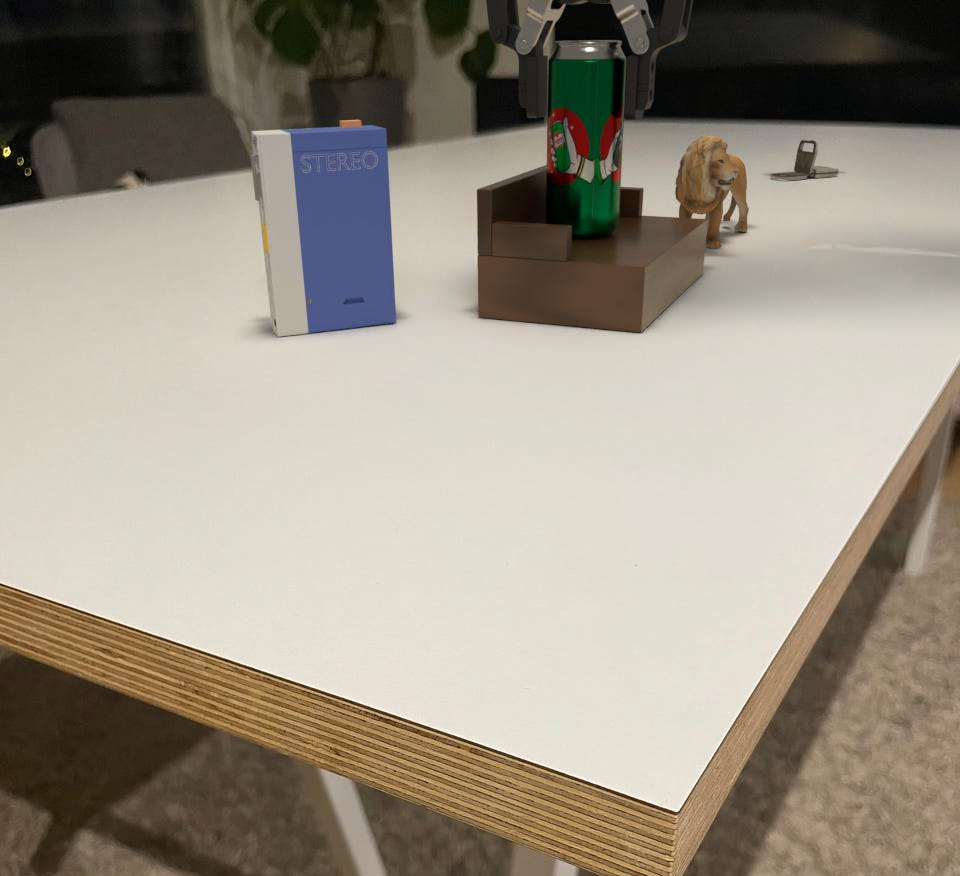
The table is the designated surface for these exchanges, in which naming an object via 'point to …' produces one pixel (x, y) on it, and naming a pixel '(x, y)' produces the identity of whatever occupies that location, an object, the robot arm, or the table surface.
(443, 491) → the table surface
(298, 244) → the walkman
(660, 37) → the robot arm
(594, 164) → the soda can
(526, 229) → the brown toy sofa
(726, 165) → the lion figurine
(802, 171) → the strap clip
